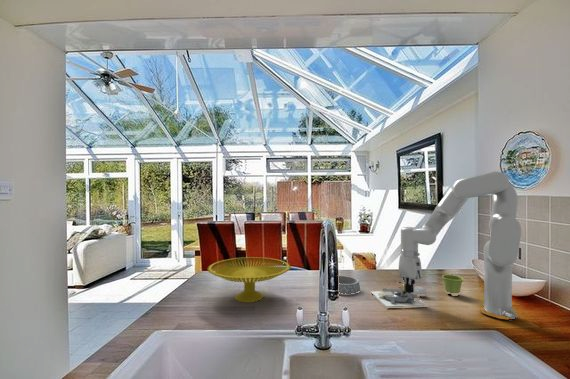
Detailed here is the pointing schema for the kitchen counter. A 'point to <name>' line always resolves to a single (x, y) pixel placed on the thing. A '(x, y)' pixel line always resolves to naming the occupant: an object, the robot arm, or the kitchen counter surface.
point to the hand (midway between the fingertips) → (409, 292)
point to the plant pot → (452, 283)
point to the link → (420, 290)
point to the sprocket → (398, 295)
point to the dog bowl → (348, 285)
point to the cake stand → (249, 275)
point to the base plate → (396, 304)
